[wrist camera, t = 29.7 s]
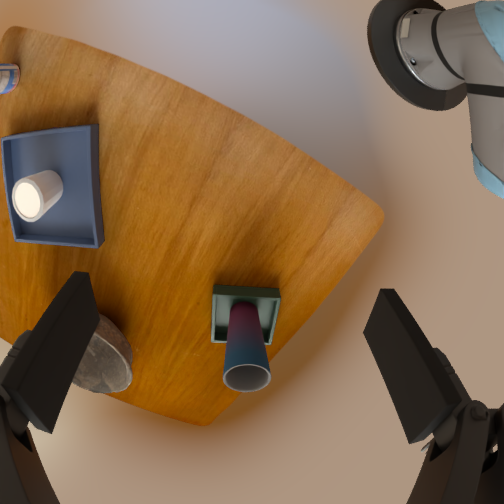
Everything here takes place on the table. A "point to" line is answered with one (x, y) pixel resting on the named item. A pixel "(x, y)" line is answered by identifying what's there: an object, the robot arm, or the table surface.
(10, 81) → the pill bottle
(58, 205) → the near tray
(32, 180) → the white faceted candle
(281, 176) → the table surface
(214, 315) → the far tray
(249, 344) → the cup
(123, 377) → the bowl
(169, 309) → the table surface
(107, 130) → the table surface
